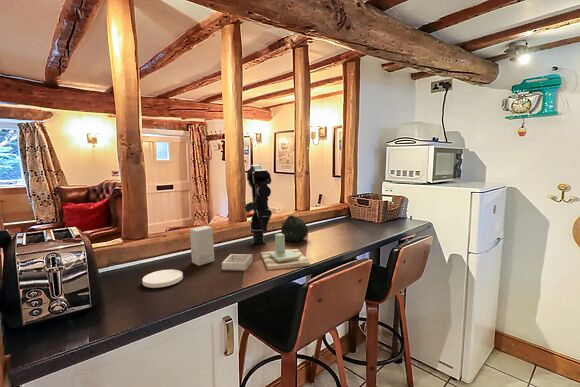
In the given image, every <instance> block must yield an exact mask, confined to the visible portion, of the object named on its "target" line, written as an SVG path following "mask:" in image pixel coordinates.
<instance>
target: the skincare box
mask: <svg viewBox="0 0 580 387" xmlns="http://www.w3.org/2000/svg"><path fill="white" fill-rule="evenodd" d="M189 237H190V238H189V239H190V240H189V241H190V252H191V253H190V254H191V263H192V264H194V265H196V266H202V265H203V266H204V265H205V264H209V263H213V262H215V261H216V260H215V245H214V228H213V227H212V226H209V225H204V226H198V227H194V228H189Z"/></svg>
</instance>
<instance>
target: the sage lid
mask: <svg viewBox="0 0 580 387" xmlns="http://www.w3.org/2000/svg"><path fill="white" fill-rule="evenodd" d="M274 242H275V243H274V244H275V247H274V249H275V250H273V251H272V252H270V251H267V252H268V254H269V255H270V256H271V257H273V258H274V259H275V260H277V261H278V262H282V261H288V260H294V259H299V258H300V256H299V255H297V254H296V253H294V252H292V251H291V250H292V249H289V248H287V249H286V240H285V235H284V234H282V232H280V233H279V232H278V233H274Z"/></svg>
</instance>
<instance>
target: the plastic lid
mask: <svg viewBox="0 0 580 387" xmlns="http://www.w3.org/2000/svg"><path fill="white" fill-rule="evenodd" d="M183 279H184V273H183V271H181V270H178V269H173V268H171V269H161V270H156V271H153V272H151V273H148V274H146V275H144V276H143V278H142V279H141V280H142V285H143V286H144V287H146V288H152V289H156V288H164V287H169V286H172V285H175V284H178V283H179V282H181V281H182V280H183Z"/></svg>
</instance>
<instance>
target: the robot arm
mask: <svg viewBox="0 0 580 387" xmlns="http://www.w3.org/2000/svg"><path fill="white" fill-rule="evenodd" d="M246 180H247V184H248V186H249V187H250V188H251V197H252V199H251V200H252V201H250V202H249V203H245V204H243V207H244V210H245V213H250V212H251V211H252V212H253V215H252V217H251V219H250V221H249V232H250V233H251V234H252V240H251V243H252V245H261V244H266V241H265V240H264V236H265V235H264V233H267V232H268V224H269V222H270V219H271V217H272V212H273V211H271V210H270V207H269V204H268V203H269V197H270V196H271V193H272V190H271V188H270V187H269V186H268V185H271V183H272V178H271V173H270V171H268V169H266V168H265V169H263V168H262V166H261V164H251V165H250V168H248V169H247V171H246Z"/></svg>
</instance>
